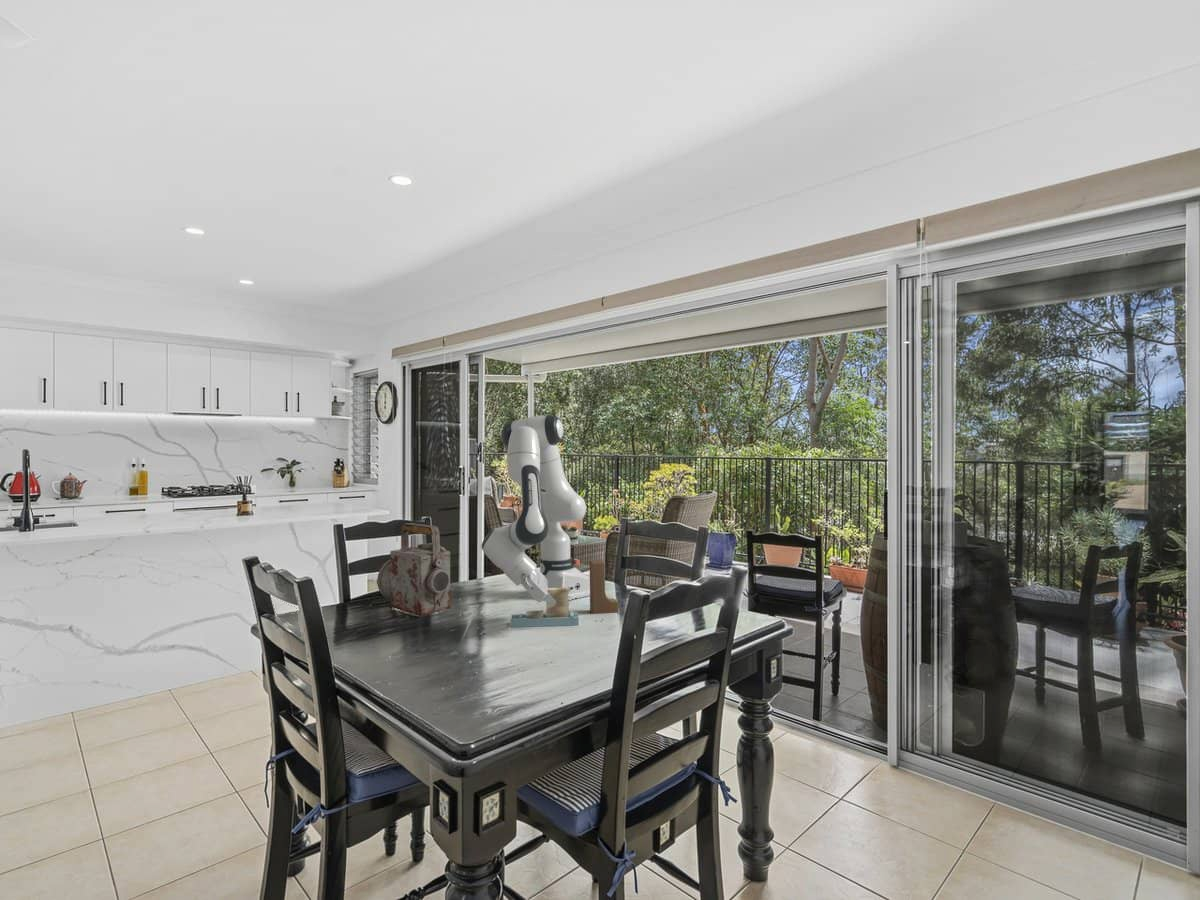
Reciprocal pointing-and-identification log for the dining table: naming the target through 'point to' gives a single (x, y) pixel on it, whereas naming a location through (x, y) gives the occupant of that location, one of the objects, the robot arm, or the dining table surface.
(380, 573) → the lantern
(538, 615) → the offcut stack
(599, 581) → the wooden block
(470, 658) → the dining table surface
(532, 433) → the robot arm
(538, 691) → the dining table surface
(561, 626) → the rack
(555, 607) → the beige rectangular slab
